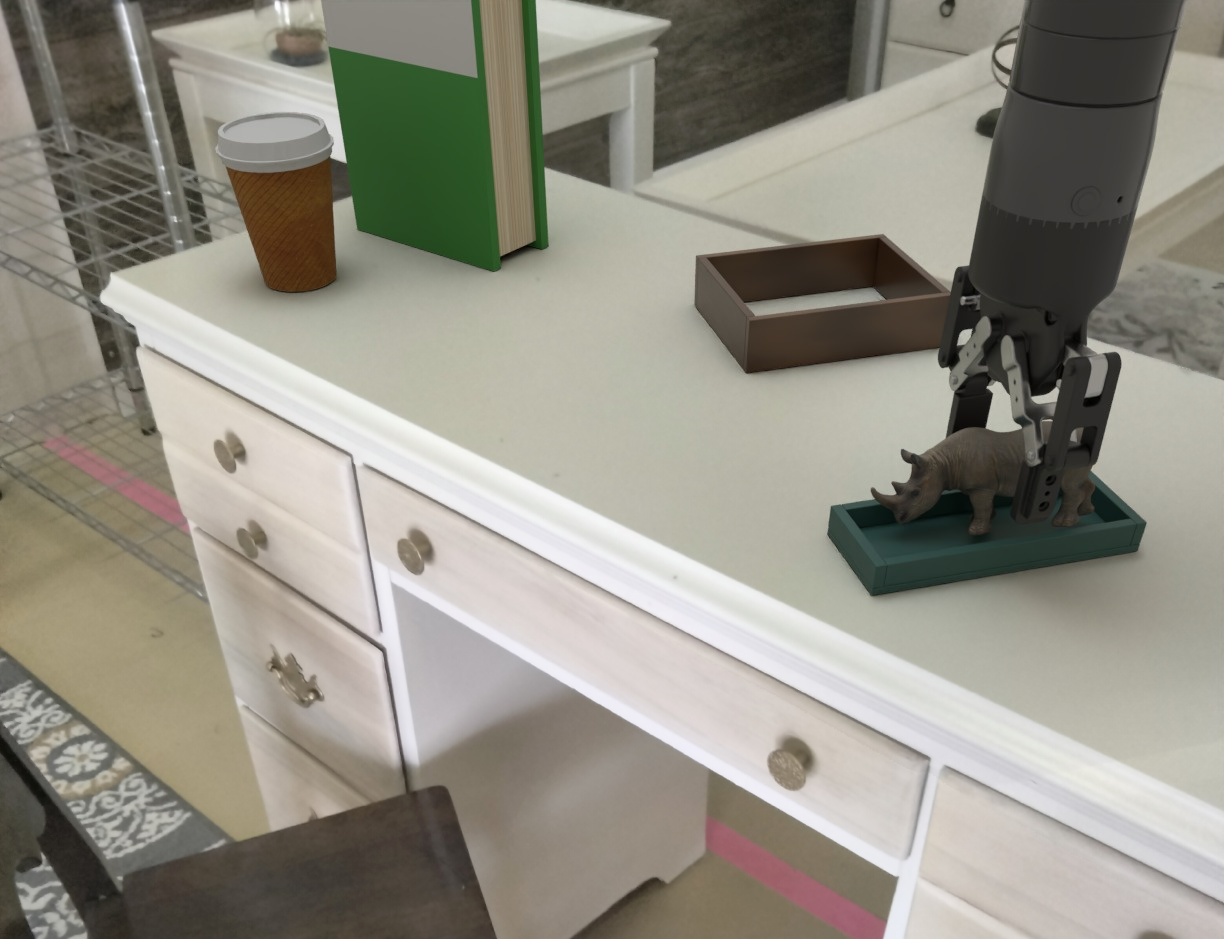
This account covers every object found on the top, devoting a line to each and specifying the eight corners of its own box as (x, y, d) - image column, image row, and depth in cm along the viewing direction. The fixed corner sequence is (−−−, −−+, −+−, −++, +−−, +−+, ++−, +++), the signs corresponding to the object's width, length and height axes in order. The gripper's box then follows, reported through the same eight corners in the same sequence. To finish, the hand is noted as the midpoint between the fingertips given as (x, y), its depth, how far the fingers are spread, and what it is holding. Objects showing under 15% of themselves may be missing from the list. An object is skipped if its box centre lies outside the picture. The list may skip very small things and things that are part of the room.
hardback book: (548, 246, 111) (531, -76, 94) (493, 271, 106) (465, -61, 90) (412, 207, 118) (374, -96, 102) (357, 229, 114) (307, -83, 98)
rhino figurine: (863, 530, 76) (863, 432, 73) (1085, 508, 75) (1093, 408, 72) (876, 547, 72) (875, 444, 69) (1109, 524, 71) (1118, 419, 69)
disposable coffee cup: (279, 309, 101) (246, 152, 93) (226, 277, 107) (191, 126, 98) (376, 279, 106) (353, 127, 97) (320, 250, 111) (294, 103, 102)
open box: (877, 282, 103) (883, 233, 101) (945, 346, 94) (955, 294, 91) (694, 304, 101) (695, 255, 98) (746, 373, 91) (749, 320, 89)
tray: (1078, 494, 78) (1086, 466, 77) (1138, 551, 73) (1147, 522, 72) (827, 533, 75) (830, 505, 74) (871, 596, 70) (876, 566, 69)
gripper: (1212, 230, 56) (1115, 537, 67) (1057, 140, 66) (995, 420, 77) (1065, 248, 54) (991, 557, 66) (930, 153, 64) (886, 436, 76)
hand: (993, 483), depth 71 cm, fingers open, 8 cm apart
